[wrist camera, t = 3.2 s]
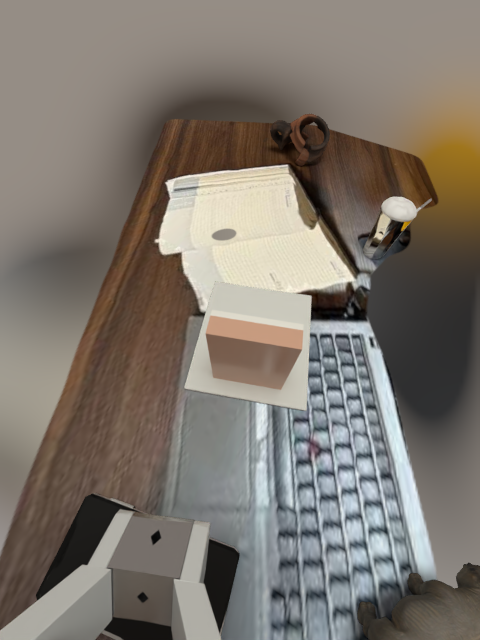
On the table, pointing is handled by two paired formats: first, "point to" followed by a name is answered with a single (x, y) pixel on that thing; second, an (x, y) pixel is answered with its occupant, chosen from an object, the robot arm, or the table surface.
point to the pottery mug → (300, 136)
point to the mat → (262, 306)
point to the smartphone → (84, 539)
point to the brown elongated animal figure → (430, 611)
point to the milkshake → (389, 225)
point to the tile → (252, 348)
